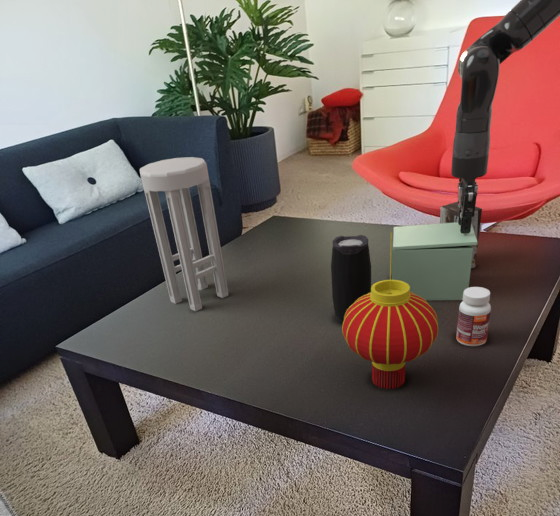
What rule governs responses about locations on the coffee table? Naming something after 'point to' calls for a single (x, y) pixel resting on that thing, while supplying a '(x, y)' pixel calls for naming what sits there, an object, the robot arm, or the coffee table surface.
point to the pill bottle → (474, 316)
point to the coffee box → (451, 216)
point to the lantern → (390, 327)
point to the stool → (184, 226)
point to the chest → (434, 271)
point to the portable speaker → (349, 272)
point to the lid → (432, 236)
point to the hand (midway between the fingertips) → (464, 228)
